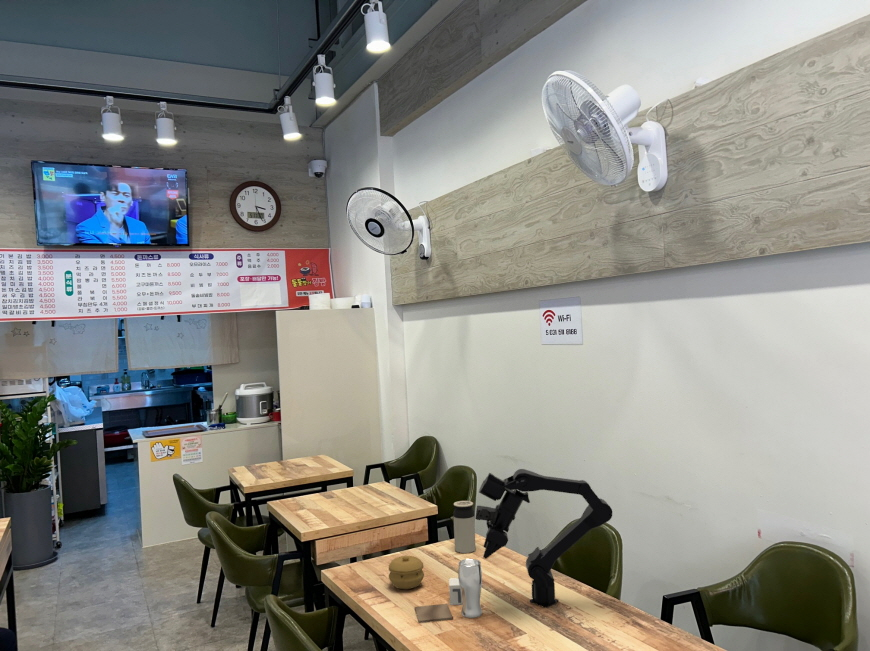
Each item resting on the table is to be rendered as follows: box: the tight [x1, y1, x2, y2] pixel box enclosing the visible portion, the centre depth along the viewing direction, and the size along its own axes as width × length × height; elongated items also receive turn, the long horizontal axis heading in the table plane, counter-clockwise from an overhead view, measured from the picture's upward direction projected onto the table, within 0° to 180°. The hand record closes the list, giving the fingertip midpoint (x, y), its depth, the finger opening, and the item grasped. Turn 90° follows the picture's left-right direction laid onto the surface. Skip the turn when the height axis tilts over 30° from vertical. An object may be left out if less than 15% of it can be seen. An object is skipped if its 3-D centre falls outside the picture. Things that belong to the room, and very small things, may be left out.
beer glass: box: [457, 558, 483, 619], centre depth 191 cm, size 7×7×15 cm
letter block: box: [448, 577, 462, 606], centre depth 201 cm, size 6×6×6 cm
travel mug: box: [452, 500, 476, 554], centre depth 249 cm, size 8×8×18 cm
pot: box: [388, 555, 425, 590], centre depth 215 cm, size 12×12×10 cm
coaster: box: [414, 603, 454, 624], centre depth 192 cm, size 10×10×1 cm
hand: (484, 552), depth 199 cm, fingers open, 9 cm apart
